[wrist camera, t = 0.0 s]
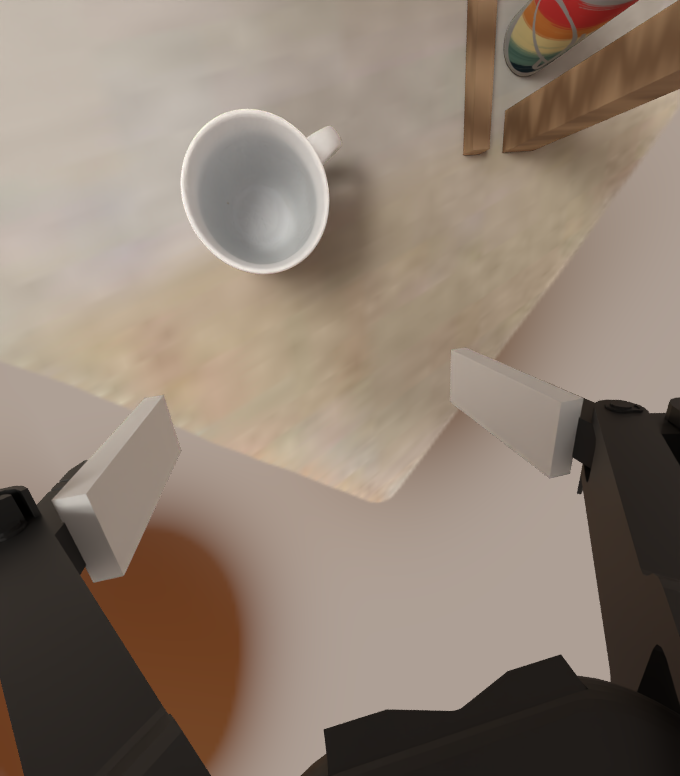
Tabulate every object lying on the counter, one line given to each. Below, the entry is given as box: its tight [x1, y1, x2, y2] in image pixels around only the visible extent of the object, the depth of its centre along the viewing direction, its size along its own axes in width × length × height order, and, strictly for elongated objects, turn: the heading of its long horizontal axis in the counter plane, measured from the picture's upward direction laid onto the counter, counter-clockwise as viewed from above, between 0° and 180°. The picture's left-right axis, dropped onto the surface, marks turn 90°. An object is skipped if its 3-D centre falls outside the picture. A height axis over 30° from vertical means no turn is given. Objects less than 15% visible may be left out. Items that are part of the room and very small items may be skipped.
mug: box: [181, 109, 342, 274], centre depth 31 cm, size 15×11×13 cm
